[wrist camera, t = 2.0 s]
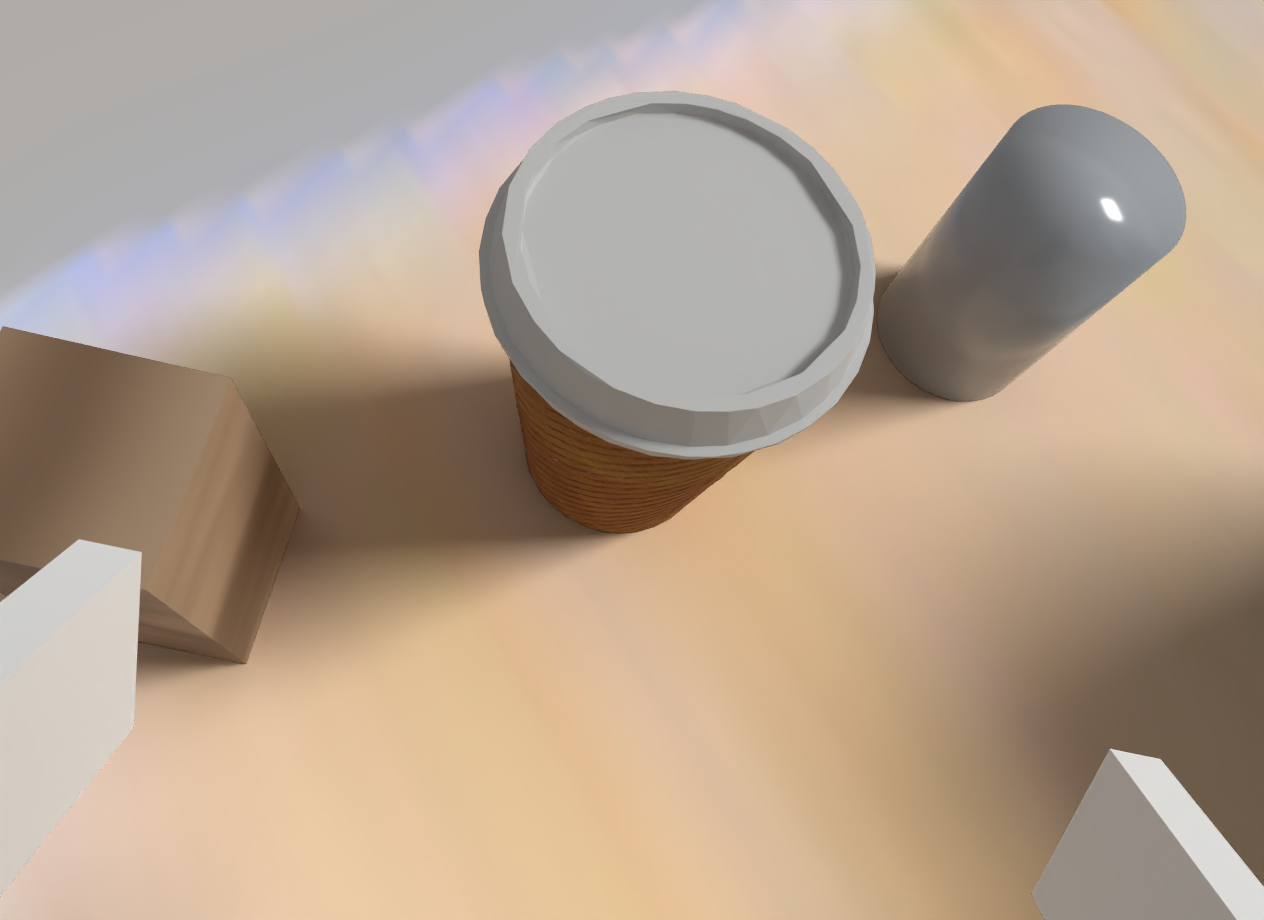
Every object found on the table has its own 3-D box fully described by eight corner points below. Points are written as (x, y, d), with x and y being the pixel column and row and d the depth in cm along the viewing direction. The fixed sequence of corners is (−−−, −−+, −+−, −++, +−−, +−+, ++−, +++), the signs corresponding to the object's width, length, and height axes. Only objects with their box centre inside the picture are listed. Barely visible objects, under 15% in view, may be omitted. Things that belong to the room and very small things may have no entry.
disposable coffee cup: (416, 443, 30) (385, 221, 19) (608, 280, 34) (674, 15, 23) (625, 641, 29) (721, 526, 18) (801, 449, 32) (971, 255, 21)
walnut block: (299, 507, 29) (230, 377, 20) (246, 663, 27) (145, 589, 18) (139, 473, 28) (3, 326, 20) (72, 629, 26) (-110, 537, 18)
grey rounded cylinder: (1020, 287, 37) (1178, 132, 29) (1020, 417, 34) (1193, 287, 26) (881, 252, 36) (1001, 84, 28) (872, 381, 34) (1001, 238, 26)
